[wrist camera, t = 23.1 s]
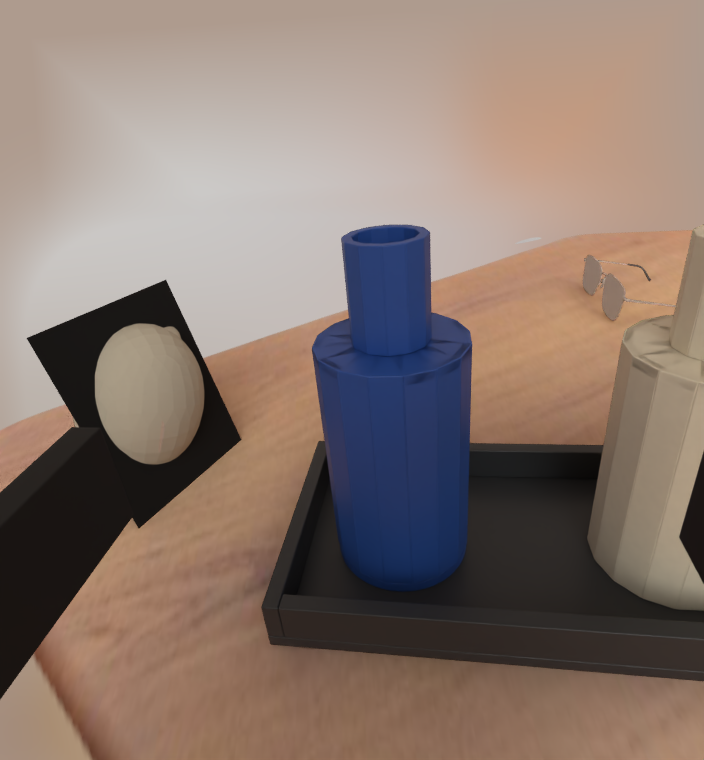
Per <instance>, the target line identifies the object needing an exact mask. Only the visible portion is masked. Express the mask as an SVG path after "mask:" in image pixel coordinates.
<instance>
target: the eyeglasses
mask: <svg viewBox="0 0 704 760" xmlns="http://www.w3.org/2000/svg"><path fill="white" fill-rule="evenodd" d="M584 261H586V262H585V268H584V275H583V287H584V289H585V291H586V292H587V293H588V294H590V295H594V294H595V292H596V290H597V288H598V286H599V284H600V282H601V280H602V282H601V283H602V285H601V287H600V288H602V287H603V286H604V290H603V298H602V307H603V310H604V312H605V314H606V316H607V317H608V318H609V319H610V320H612V321H614V320H616V319H617V317H618V315H619V313H620V310H621V308H622V305H623V302H624V301H626V302H636V303H645V304H654V305H663V306H672V307H676V306H675V305H668V304H661V303H653V302H646V301H638V300H631V299H627V298H625V293H626V292H625V288H624V286H623V285H622V284H621V282H620V281H619V280H618V279H617V278H616V277H615V276H614V275H612V274H608V275H607V274H606V273H603V272H602V266H601V264H600V263H599V262H606V263H615V264H624V263H616V262H609V261H601V260H597V259H596V258H594V257H593V256H591V255H588V256H587V258H584ZM624 265H630V266H637V267H640V268H641V269H642V270H643V271H644V273H645V275H646V277H647V279H648V280H649V281H650V280H651V279H650V278H649V276H648V274H647V273H646V271H645V270H644V268H642V267H641V266H639V265H633V264H624ZM602 274H604V275H606V277H605V278H604V279H601V276H602ZM600 279H601V280H600Z"/></svg>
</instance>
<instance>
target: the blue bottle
mask: <svg viewBox="0 0 704 760" xmlns="http://www.w3.org/2000/svg"><path fill="white" fill-rule="evenodd" d="M341 241H342V250H343V261H344V271H345V282H346V292H347V303H348V313H349V318H348V319H346V320H343V321H340V322H338V323H335V324H333V325H331V326H330V327H328V328H327V329H326V330H324V331H323V332H321V333H320V334H319V335H318V336H317V338H316V340H315V342H314V344H313V347H312V353H313V360H314V367H315V375H316V382H317V389H318V396H319V404H320V411H321V418H322V425H323V433H324V440H325V447H326V454H327V462H328V469H329V476H330V484H331V491H332V498H333V505H334V513H335V520H336V527H337V534H338V540H339V543H340V549H341V553H342V556H343V559H344V561H345V563H346V564H347V566H348V567H349V569H350V570H351V571H352V572H353V573H354V574H355V575H356V576H357V577H359V578H360V579H362V580H363V581H365V582H366V583H368V584H370V585H373V586H375V587H378V588H381V589H385V590H390V591H399V592H406V591H417V590H421V589H426V588H429V587H431V586H434V585H436V584H438V583H440V582H442V581H443V580H445V579H446V578H448V577H449V576H450V575H451V574H452V573H454V571H455V570H456V569H457V568H458V567H459V565H460V563H461V562H462V560H463V557H464V555H465V550H466V544H467V525H468V485H469V446H470V406H471V367H472V341H471V335H470V331H469V330H468V329H467V328H465V327H464V326H463V325H462V324H460V323H459V322H458V321H456V320H454V319H451V318H448V317H445V316H442V315H439V314H436V313H431V267H430V266H431V265H430V232H429V231H428V230H426V229H425V228H423V227H418V226H412V225H383V226H374V227H368V228H363V229H359V230H355V231H352V232H349V233H348V234H346V235H344V236H343V237H342V238H341Z"/></svg>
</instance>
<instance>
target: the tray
mask: <svg viewBox="0 0 704 760" xmlns="http://www.w3.org/2000/svg"><path fill="white" fill-rule="evenodd" d="M603 446H604V445H553V444H486V443H470V446H469V485H468V525H467V544H466V550H465V555H464V557H463V560H462V562H461V563H460V565H459V567H458V568H457V569H456V570H455V571H454V573H452V574H451V575H450V576H449V577H448V578H446V579H445V580H443V581H442V582H440V583H438V584H436V585H434V586H431V587H429V588H426V589H421V590H417V591H406V592H399V591H390V590H385V589H381V588H378V587H375V586H373V585H370V584H368V583H366V582H365V581H363V580H362V579H360V578H359V577H357V576H356V575H355V574H354V573H353V572H352V571H351V570H350V569H349V567H348V566H347V564H346V563H345V561H344V559H343V556H342V553H341V549H340V543H339V540H338V534H337V527H336V520H335V513H334V505H333V498H332V491H331V484H330V476H329V469H328V462H327V454H326V447H325V441H319V442H318V445H317V447H316V450H315V453H314V456H313V459H312V462H311V465H310V468H309V471H308V474H307V476H306V479H305V482H304V485H303V488H302V491H301V494H300V497H299V500H298V503H297V505H296V508H295V511H294V514H293V517H292V520H291V523H290V526H289V529H288V532H287V534H286V537H285V540H284V543H283V546H282V549H281V552H280V555H279V558H278V561H277V563H276V566H275V569H274V572H273V575H272V578H271V581H270V584H269V587H268V590H267V592H266V595H265V598H264V601H263V604H262V607H261V608H262V612H263V616H264V620H265V624H266V628H267V632H268V635H269V641H270V644H273V645H285V646H297V647H309V648H321V649H332V650H344V651H356V652H368V653H379V654H391V655H403V656H415V657H426V658H438V659H450V660H462V661H474V662H485V663H497V664H509V665H521V666H532V667H544V668H556V669H568V670H579V671H591V672H603V673H615V674H627V675H638V676H650V677H662V678H674V679H685V680H697V681H704V611H699V610H679V609H673V608H670V607H667V606H664V605H661V604H658V603H655V602H652V601H649V600H646V599H643V598H642V597H639V596H637V595H636V594H634V593H632V592H631V591H629V590H628V589H626V588H625V587H623V586H621V585H620V584H618V583H617V582H615V581H614V580H612V579H611V577H610V576H609V575H608V574H607V573H606V572H605V571H604V570H603V568H602V567H601V566H600V565H599V564H598V563H597V562H596V561H595V559H594V557H593V554H592V551H591V549H590V546H589V543H588V540H587V536H588V531H589V525H590V519H591V514H592V508H593V502H594V497H595V491H596V486H597V480H598V474H599V469H600V463H601V457H602V452H603Z"/></svg>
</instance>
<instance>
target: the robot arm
mask: <svg viewBox="0 0 704 760" xmlns="http://www.w3.org/2000/svg"><path fill="white" fill-rule="evenodd" d="M133 515H134V513H133V510H132V508H131V505H130V503H129V500H128V498H127V495H126V492H125V490H124V487H123V485H122V482H121V480H120V477H119V474H118V472H117V469H116V467H115V464H114V462H113V459H112V456H111V454H110V451H109V449H108V446H107V444H106V441H105V438H104V436H103V433H102V431H101V428H85V427H72V428H71V429H69V430H68V431H67V432H66V433H65V434H64V435H63V436H62V437H61V438H60V439H58V440H57V441H56V442H55V443H54V444H53V445H52V446H51V447H50V448H49V449H48V450H46V451H45V452H44V453H43V454H42V455H41V456H40V457H39V458H38V459H37V460H36V461H34V462H33V463H32V464H31V465H30V466H29V467H28V468H27V469H26V470H25V471H23V472H22V473H21V474H20V475H19V476H18V477H17V478H16V479H15V480H14V481H13V482H11V483H10V484H9V485H8V486H7V487H6V488H5V489H4V490H3V491H2V492H1V493H0V699H1V698H2V696H3V695H4V693H5V692H6V691H7V689H8V688H9V687H10V685H11V684H12V682H13V681H14V679H15V678H16V677H17V676H18V674H19V673H20V671H21V670H22V668H23V667H24V666H25V664H26V663H27V662H28V660H29V659H30V658H31V656H32V655H33V653H34V652H35V651H36V649H37V648H38V647H39V645H40V644H41V642H42V641H43V640H44V638H45V637H46V635H47V634H48V633H49V631H50V630H51V629H52V627H53V626H54V624H55V623H56V622H57V620H58V619H59V617H60V616H61V615H62V613H63V612H64V611H65V609H66V608H67V606H68V605H69V604H70V602H71V601H72V600H73V598H74V597H75V595H76V594H77V593H78V591H79V590H80V588H81V587H82V586H83V584H84V583H85V582H86V580H87V579H88V577H89V576H90V575H91V573H92V572H93V571H94V569H95V568H96V566H97V565H98V564H99V562H100V561H101V559H102V558H103V557H104V555H105V554H106V553H107V551H108V550H109V548H110V547H111V546H112V544H113V543H114V541H115V540H116V539H117V537H118V536H119V535H120V533H121V532H122V530H123V529H124V528H125V526H126V525H127V524H128V522H129V521H130V519H131V518H132V517H133ZM679 538H680V540H681V542H682V544H683V546H684V548H685V550H686V552H687V554H688V555H689V557H690V559H691V561H692V563H693V565H694V567H695V569H696V571H697V573H698V574H699V576H700V578H701V580H702V582H703V584H704V451H703V455H702V458H701V462H700V465H699V469H698V472H697V476H696V479H695V483H694V486H693V490H692V493H691V497H690V500H689V504H688V507H687V511H686V514H685V518H684V521H683V525H682V528H681V532H680V535H679Z"/></svg>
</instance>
